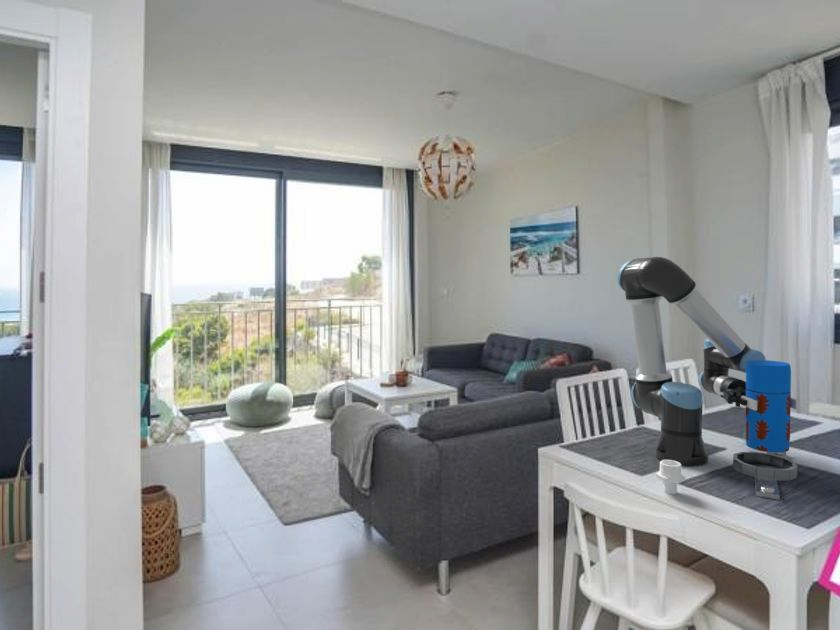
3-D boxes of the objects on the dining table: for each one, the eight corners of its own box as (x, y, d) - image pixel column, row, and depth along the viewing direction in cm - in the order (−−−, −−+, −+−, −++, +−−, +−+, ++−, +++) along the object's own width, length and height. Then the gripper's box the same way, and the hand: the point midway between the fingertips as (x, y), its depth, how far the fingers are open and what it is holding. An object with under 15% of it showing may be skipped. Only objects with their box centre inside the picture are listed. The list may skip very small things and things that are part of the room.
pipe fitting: (688, 491, 136) (688, 462, 135) (676, 499, 131) (677, 469, 131) (663, 484, 140) (664, 456, 140) (652, 492, 136) (652, 463, 135)
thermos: (782, 455, 141) (784, 367, 140) (740, 446, 150) (740, 363, 148) (794, 446, 148) (795, 362, 147) (752, 438, 157) (753, 359, 155)
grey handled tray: (732, 491, 135) (732, 481, 135) (733, 447, 170) (733, 439, 169) (805, 504, 127) (805, 492, 126) (790, 455, 161) (790, 446, 161)
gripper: (768, 399, 166) (818, 417, 144) (695, 400, 167) (734, 419, 145) (768, 376, 165) (818, 391, 143) (696, 378, 166) (735, 393, 144)
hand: (776, 405), depth 144 cm, fingers closed on thermos, 11 cm apart
